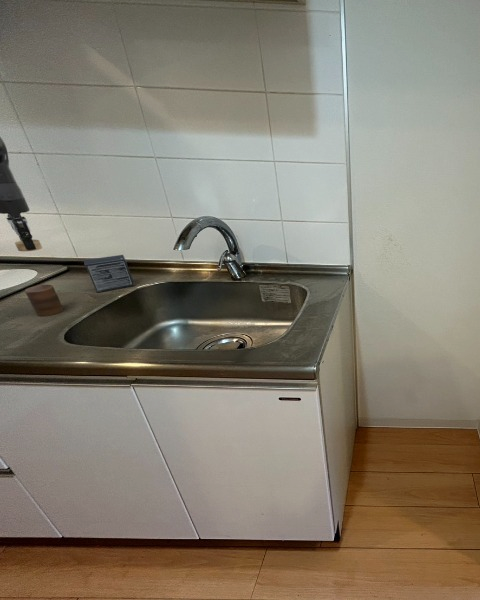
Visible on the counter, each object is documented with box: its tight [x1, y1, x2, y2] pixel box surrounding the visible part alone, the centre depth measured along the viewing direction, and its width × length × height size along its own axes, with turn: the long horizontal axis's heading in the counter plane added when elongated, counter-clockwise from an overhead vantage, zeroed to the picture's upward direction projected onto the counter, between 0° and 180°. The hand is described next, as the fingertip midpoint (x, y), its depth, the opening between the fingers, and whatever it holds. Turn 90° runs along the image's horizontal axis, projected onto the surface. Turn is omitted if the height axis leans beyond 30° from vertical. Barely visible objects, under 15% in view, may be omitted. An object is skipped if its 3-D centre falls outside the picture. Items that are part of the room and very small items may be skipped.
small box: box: [83, 254, 136, 293], centre depth 108 cm, size 11×6×10 cm, turn 135°
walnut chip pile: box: [24, 284, 64, 317], centre depth 91 cm, size 6×6×8 cm
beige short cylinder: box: [14, 239, 43, 252], centre depth 106 cm, size 6×6×3 cm
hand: (29, 247), depth 106 cm, fingers closed on beige short cylinder, 5 cm apart
